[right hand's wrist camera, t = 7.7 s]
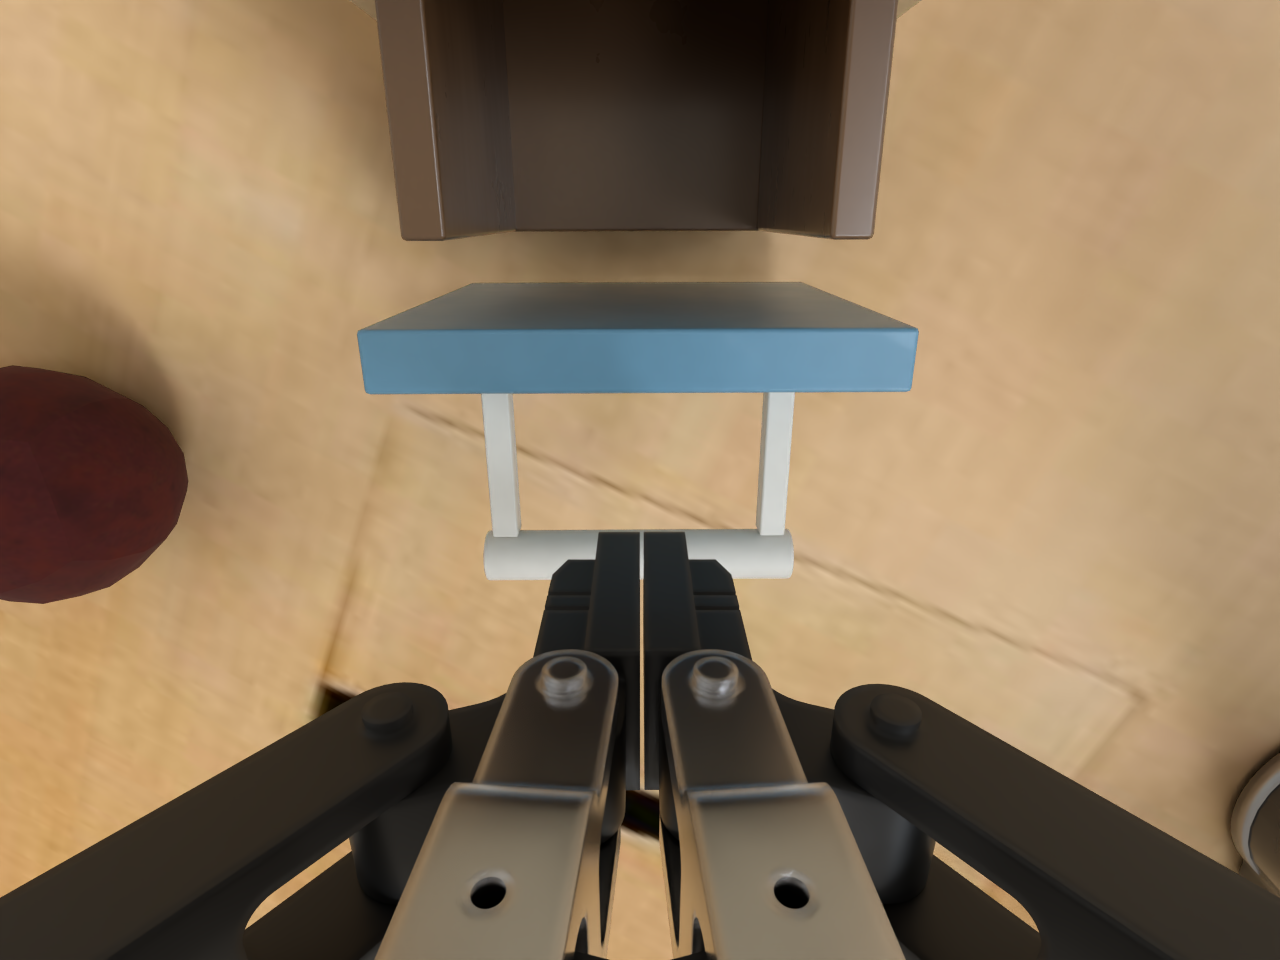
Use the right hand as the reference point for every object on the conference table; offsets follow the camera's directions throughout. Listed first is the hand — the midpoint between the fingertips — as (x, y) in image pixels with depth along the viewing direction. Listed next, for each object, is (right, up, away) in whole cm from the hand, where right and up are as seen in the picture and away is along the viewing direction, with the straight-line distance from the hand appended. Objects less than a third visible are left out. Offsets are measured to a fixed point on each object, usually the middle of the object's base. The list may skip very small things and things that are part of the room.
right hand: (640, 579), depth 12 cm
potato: (-18, +3, +13) cm, 23 cm away
